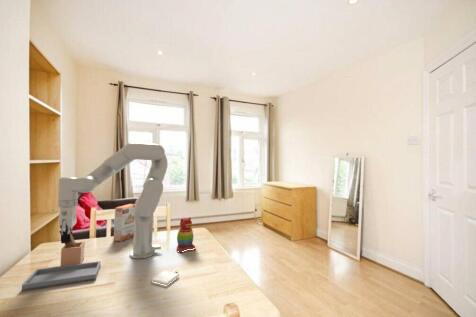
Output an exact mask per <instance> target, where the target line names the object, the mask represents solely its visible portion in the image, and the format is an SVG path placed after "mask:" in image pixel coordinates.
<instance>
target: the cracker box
mask: <svg viewBox="0 0 476 317" xmlns="http://www.w3.org/2000/svg"><path fill="white" fill-rule="evenodd" d="M114 211H115V212H114V224H113V225H114V226H113V241H114V242H121V243H122V242H123V241H125V240H127V239H129V238H131V236H132V237H134V236H133V235H134V218H135V203H128V204H124V205H121V206H120V205H119V206H117V207H115V209H114Z"/></svg>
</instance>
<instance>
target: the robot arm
mask: <svg viewBox="0 0 476 317" xmlns="http://www.w3.org/2000/svg"><path fill="white" fill-rule="evenodd" d="M165 153H166V151H165V148H164V146H162V145H161V144H158V143H145V142H143V143H142V142H132V141H131V142H128V143H126V144H125V145H124V146H123V147H122V148H120V149H119V150H118V151H115V153H113V154H112V155H110V156H109V157H107V158H106V159H105V160H104V161H103V162H102V164H100V165H99V166H98V167H97V168H96V169H94V170H93V171H91V172H90V173H89V174H87V175H85V176H83V177H76V176H64V177H60V178H59V179H58V193H57V194H58V196H57V207H58V208H59V218H58V227H59V229H60V230H61V232H62V235H61V234H60V236H61V237H60V238H61V239H60V243H61V244H65V243H69V242H70V234H69V230H70V231H71V234H72V235H73V228H74V226H75V225H76V224H77V220H78V219H77V206H78V205H79V204H78V203H79V200H78V198H79V193H84V194H85V193H90V192H92V191H94V190H95V189H96V188H97V187H99V186H100V185H101V184H102V183H103V182H105V181H106V180H108V179H109V178H110V177H112V176H115V175H116V174H118V173H119V172H120V171H122V170H123V169H124V168H125V167H127V166H128V165H130V164H131V163H132V162H134V161H135V160H143V161H151V165H150V168H149V171H148V174H147V176H146V178H145V180H144V182H143V185H142V188H143V189H142V191H141V194H140V196H139V197H138V198H137V199H136V200H135V203H134V204H135V218H134V236H133V243H132V244H133V245H132V250H131V251H130V252H129V257H131V258H133V259H145V258H146V259H147V258H150V257H152V256H153V255H155V253H156V250H162V245H159V244H153V234H154V232H153V231H154V213H155V211H156V209H157V207H158V205H159V202H160V199H161V197H162V194H163V193H164V192H163V191H164V184H163V181H164V179H165V176H166V173H167V168H168V157H167V156H166V154H165ZM66 229H68V231H67V230H66Z"/></svg>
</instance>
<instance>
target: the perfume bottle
mask: <svg viewBox="0 0 476 317" xmlns="http://www.w3.org/2000/svg"><path fill="white" fill-rule="evenodd" d="M176 271H178V272H179V270H178V269H176V268H175V269H174V270H173V271H168V270H166V269H165V270H162V271H161V272H160V273H159V274H157V275H156V276H154V277H152V278H151V281H153V282H157V283H160V284H164V285H168V284H169V283H170V282H172V281H173V280H174V279H175V278H177V277H178V276H179V277H180V273H178V272H177V273H175V272H176ZM177 279H178V278H177ZM172 283H173V282H172Z"/></svg>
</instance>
